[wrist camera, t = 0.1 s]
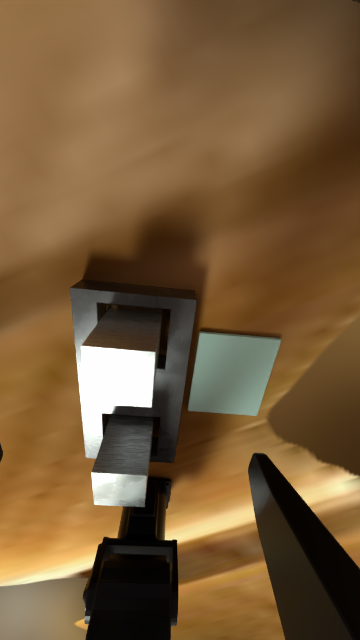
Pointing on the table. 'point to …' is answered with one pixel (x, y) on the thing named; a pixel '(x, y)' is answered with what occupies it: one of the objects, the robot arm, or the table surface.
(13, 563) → the table surface
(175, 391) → the rail
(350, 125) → the table surface
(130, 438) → the block
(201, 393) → the mat
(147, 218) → the table surface
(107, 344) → the block
